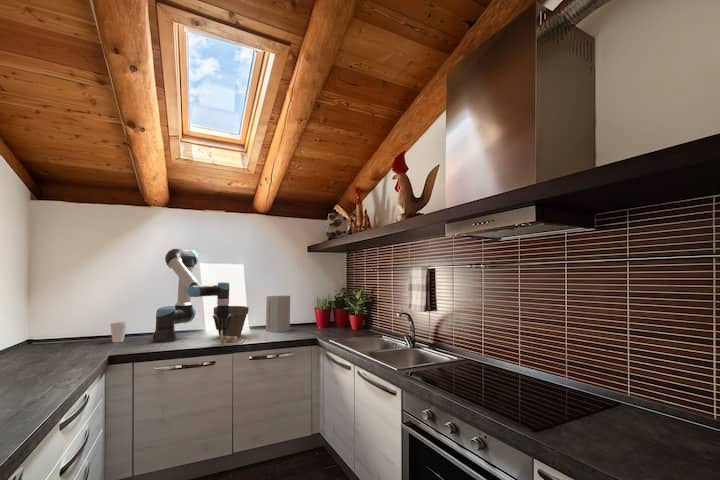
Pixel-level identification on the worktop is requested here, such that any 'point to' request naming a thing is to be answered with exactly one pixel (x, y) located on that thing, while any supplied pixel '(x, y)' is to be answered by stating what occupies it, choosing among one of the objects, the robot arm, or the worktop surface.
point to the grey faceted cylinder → (277, 313)
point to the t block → (229, 339)
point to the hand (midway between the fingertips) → (221, 340)
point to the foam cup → (118, 331)
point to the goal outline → (233, 343)
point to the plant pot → (234, 320)
